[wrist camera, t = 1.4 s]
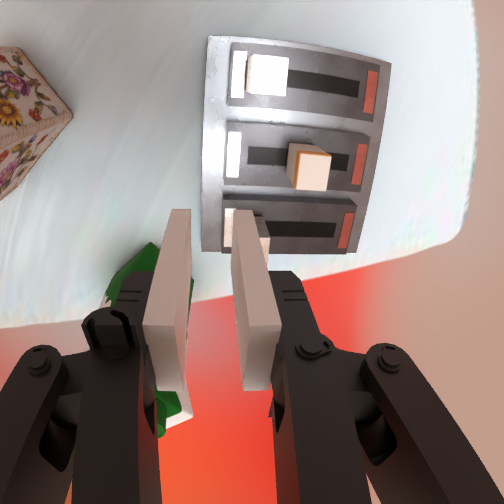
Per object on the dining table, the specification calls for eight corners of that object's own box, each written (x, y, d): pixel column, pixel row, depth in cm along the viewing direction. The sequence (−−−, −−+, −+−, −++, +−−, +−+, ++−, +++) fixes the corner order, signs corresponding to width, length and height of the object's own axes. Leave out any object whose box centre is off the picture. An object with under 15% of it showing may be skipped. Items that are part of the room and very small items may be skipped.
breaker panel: (209, 38, 23) (206, 24, 17) (381, 63, 26) (426, 64, 19) (202, 241, 34) (199, 286, 27) (349, 243, 36) (376, 283, 30)
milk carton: (205, 280, 37) (205, 440, 20) (154, 318, 39) (135, 463, 22) (150, 230, 33) (102, 390, 16) (102, 276, 35) (49, 422, 18)
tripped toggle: (288, 142, 26) (300, 153, 22) (316, 144, 26) (332, 156, 23) (285, 174, 27) (295, 190, 24) (312, 176, 27) (326, 191, 24)
